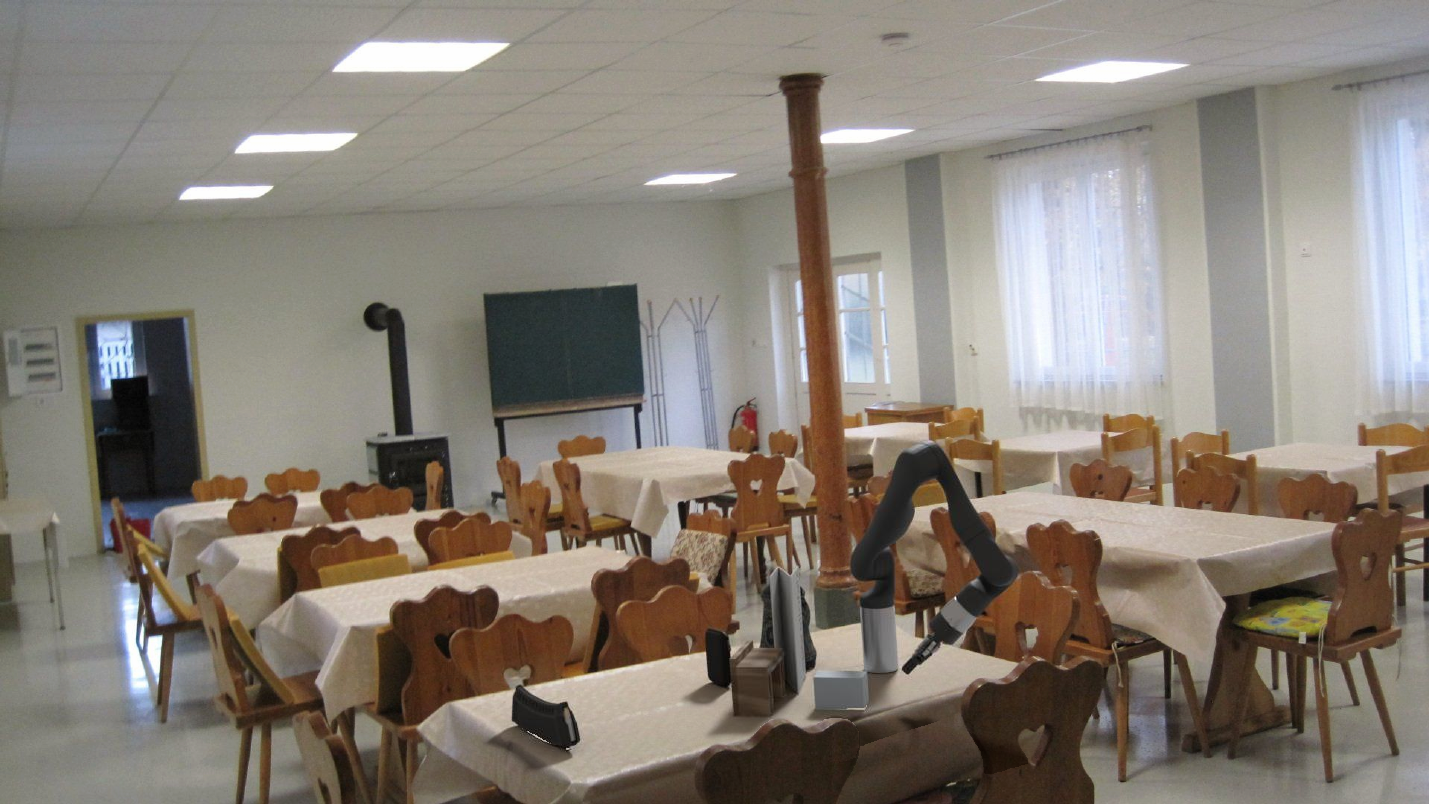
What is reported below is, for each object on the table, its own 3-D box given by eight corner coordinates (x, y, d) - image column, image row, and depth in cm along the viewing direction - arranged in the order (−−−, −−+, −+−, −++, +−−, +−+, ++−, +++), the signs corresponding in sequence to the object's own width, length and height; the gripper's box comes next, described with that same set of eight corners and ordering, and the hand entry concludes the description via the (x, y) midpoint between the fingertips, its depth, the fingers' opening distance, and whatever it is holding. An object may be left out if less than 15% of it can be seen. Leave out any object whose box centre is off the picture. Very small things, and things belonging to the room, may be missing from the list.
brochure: (799, 693, 311) (791, 576, 309) (777, 693, 312) (769, 577, 311) (806, 678, 325) (798, 565, 323) (785, 678, 326) (777, 566, 324)
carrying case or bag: (737, 688, 320) (733, 632, 319) (727, 690, 318) (723, 634, 317) (715, 680, 329) (711, 625, 328) (705, 682, 327) (701, 627, 326)
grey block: (820, 702, 302) (818, 670, 302) (869, 703, 299) (866, 671, 298) (815, 709, 297) (813, 677, 296) (864, 711, 293) (862, 678, 293)
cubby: (751, 694, 313) (747, 640, 312) (787, 694, 310) (783, 640, 310) (733, 716, 296) (729, 658, 295) (771, 716, 293) (767, 658, 293)
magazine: (504, 688, 302) (554, 674, 278) (516, 685, 304) (567, 671, 280) (518, 758, 299) (570, 751, 274) (530, 755, 300) (583, 747, 276)
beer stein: (778, 655, 350) (772, 568, 349) (837, 661, 339) (831, 572, 338) (746, 670, 337) (739, 580, 336) (806, 677, 325) (800, 584, 324)
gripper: (943, 603, 296) (895, 653, 300) (939, 615, 284) (889, 668, 287) (967, 624, 295) (919, 674, 299) (963, 638, 282) (913, 690, 286)
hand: (904, 671), depth 293 cm, fingers closed
